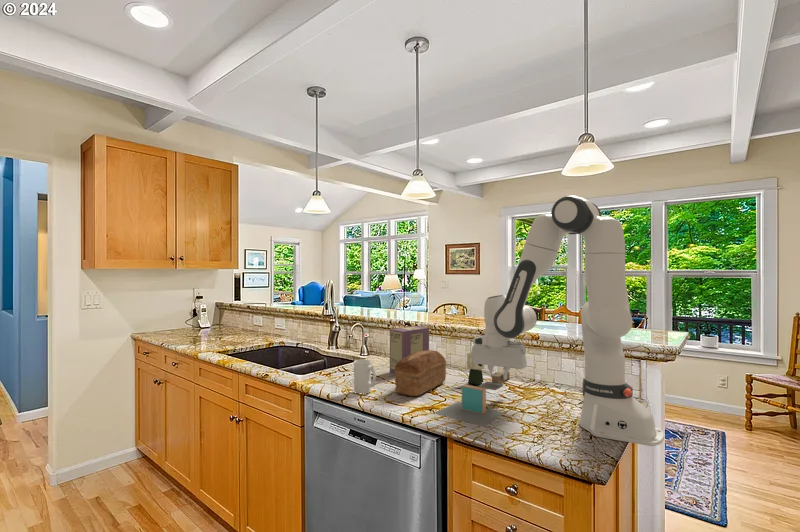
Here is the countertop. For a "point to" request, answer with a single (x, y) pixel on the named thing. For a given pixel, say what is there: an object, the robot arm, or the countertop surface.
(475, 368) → the character mug
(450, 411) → the gray rectangular plate
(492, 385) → the turner
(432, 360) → the bread
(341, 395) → the countertop surface
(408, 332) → the box
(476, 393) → the block
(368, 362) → the mug
